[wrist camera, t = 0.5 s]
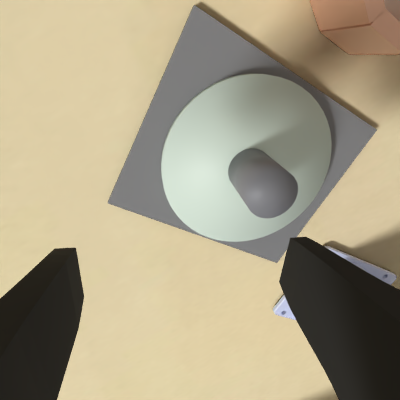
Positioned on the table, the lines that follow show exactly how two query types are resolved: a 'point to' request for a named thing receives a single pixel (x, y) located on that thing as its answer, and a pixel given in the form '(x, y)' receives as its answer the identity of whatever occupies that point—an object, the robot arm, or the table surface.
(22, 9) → the table surface
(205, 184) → the lid
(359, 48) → the bowl
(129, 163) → the mat
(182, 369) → the table surface
